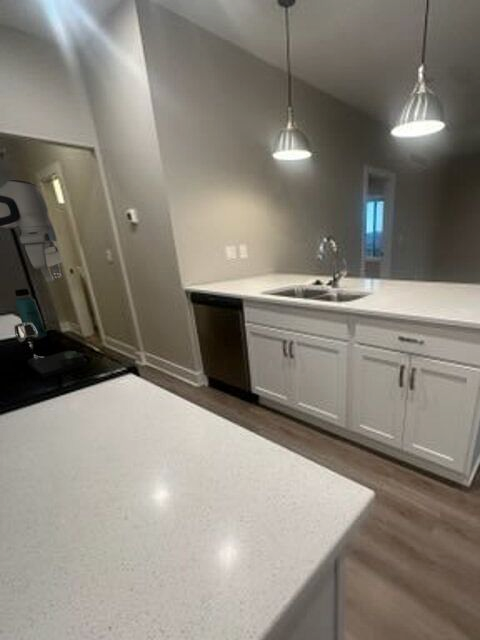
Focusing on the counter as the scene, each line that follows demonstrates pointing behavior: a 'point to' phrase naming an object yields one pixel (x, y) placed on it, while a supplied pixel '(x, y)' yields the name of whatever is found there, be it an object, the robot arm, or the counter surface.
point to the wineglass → (27, 336)
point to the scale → (56, 364)
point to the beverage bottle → (30, 312)
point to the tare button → (70, 354)
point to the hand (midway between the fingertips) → (54, 279)
